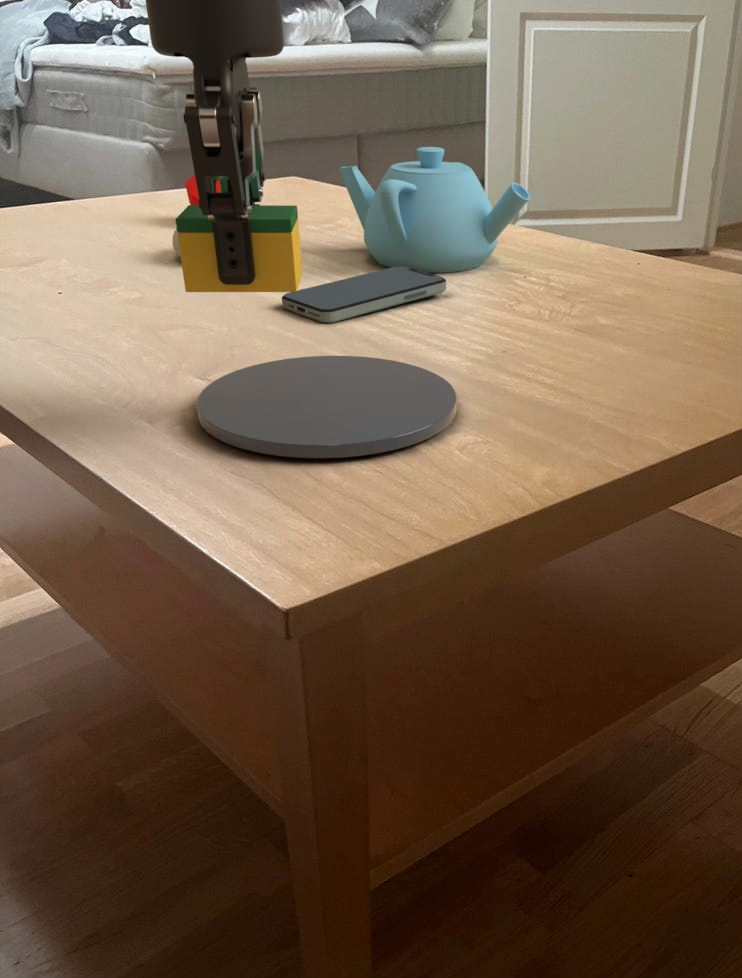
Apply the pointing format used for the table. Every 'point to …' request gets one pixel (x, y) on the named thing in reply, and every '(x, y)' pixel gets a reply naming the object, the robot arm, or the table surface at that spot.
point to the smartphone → (363, 294)
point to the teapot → (431, 214)
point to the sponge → (270, 248)
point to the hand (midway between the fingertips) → (243, 271)
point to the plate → (326, 406)
